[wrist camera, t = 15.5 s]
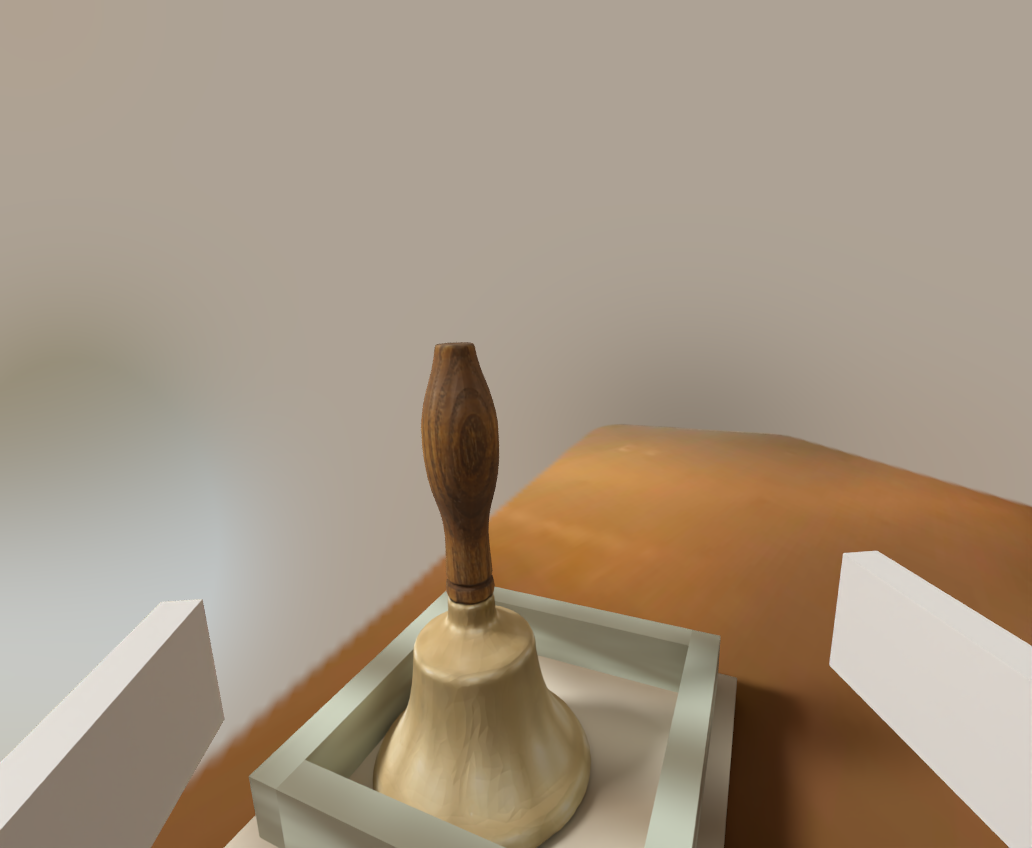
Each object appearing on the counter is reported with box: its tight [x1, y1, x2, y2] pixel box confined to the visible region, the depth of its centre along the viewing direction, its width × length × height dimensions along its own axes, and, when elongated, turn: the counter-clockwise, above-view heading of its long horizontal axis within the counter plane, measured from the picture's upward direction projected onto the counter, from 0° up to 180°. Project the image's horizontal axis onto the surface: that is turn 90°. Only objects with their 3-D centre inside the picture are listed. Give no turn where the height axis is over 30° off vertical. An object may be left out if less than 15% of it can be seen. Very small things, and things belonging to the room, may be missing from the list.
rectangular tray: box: [224, 587, 737, 848], centre depth 21 cm, size 15×15×4 cm
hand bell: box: [373, 342, 591, 848], centre depth 19 cm, size 8×8×16 cm
